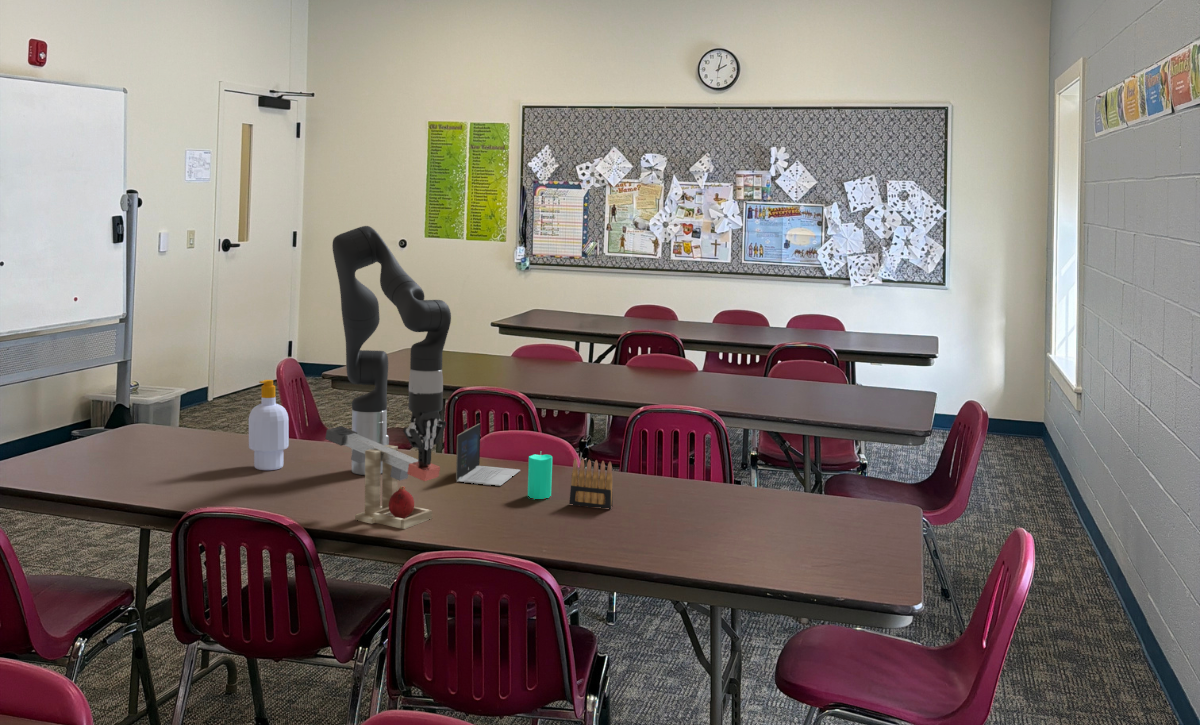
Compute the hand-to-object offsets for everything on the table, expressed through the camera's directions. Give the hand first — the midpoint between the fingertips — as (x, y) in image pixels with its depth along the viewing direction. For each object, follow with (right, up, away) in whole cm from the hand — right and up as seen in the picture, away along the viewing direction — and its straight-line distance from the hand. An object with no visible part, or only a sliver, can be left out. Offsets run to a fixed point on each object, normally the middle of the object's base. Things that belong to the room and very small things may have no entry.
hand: (424, 465), depth 226 cm
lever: (-12, -2, +7) cm, 14 cm away
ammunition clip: (+37, -13, +22) cm, 45 cm away
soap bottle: (-51, -6, +48) cm, 70 cm away
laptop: (+9, -8, +47) cm, 49 cm away
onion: (-6, -13, +5) cm, 16 cm away
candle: (+24, -11, +29) cm, 40 cm away
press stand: (-8, -13, +6) cm, 16 cm away
